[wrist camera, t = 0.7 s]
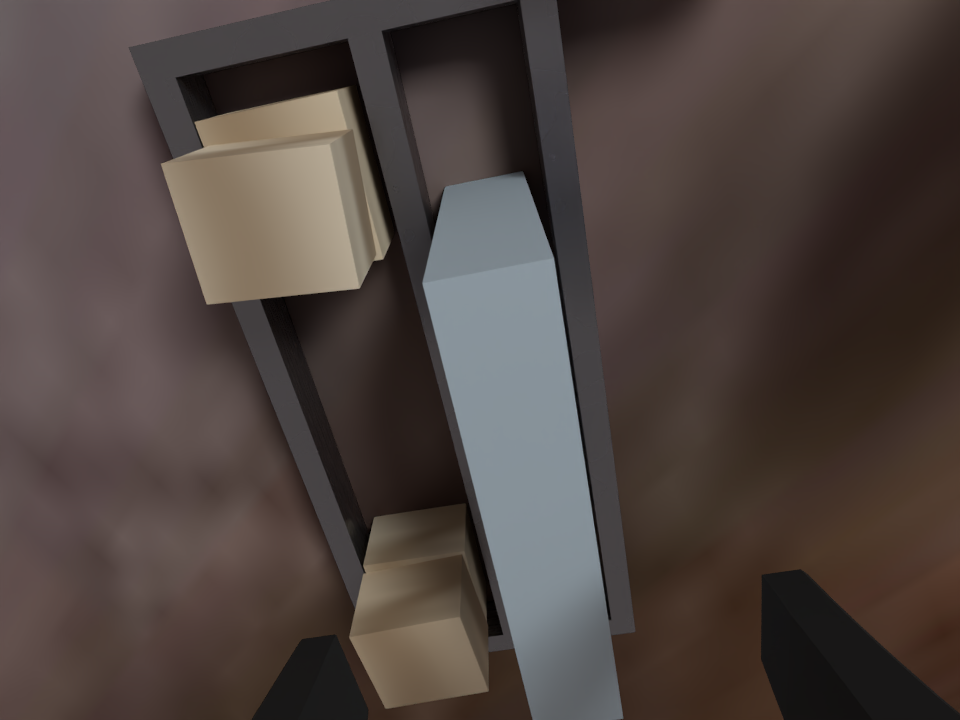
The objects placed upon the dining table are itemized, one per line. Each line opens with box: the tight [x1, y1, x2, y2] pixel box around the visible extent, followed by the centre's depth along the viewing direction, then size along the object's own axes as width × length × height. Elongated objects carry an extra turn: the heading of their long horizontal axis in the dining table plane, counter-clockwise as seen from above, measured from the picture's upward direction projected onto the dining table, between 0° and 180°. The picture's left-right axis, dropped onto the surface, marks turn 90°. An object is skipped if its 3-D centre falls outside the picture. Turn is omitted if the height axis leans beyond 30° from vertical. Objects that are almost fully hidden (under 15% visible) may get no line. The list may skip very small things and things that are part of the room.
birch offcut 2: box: [349, 554, 489, 709], centre depth 20 cm, size 3×3×2 cm
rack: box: [129, 0, 635, 652], centre depth 19 cm, size 10×22×2 cm, turn 11°
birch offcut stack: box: [161, 85, 395, 305], centre depth 15 cm, size 4×4×5 cm
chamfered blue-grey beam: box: [422, 171, 623, 720], centre depth 17 cm, size 2×12×8 cm, turn 11°
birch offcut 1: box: [363, 503, 487, 621], centre depth 22 cm, size 3×4×2 cm
